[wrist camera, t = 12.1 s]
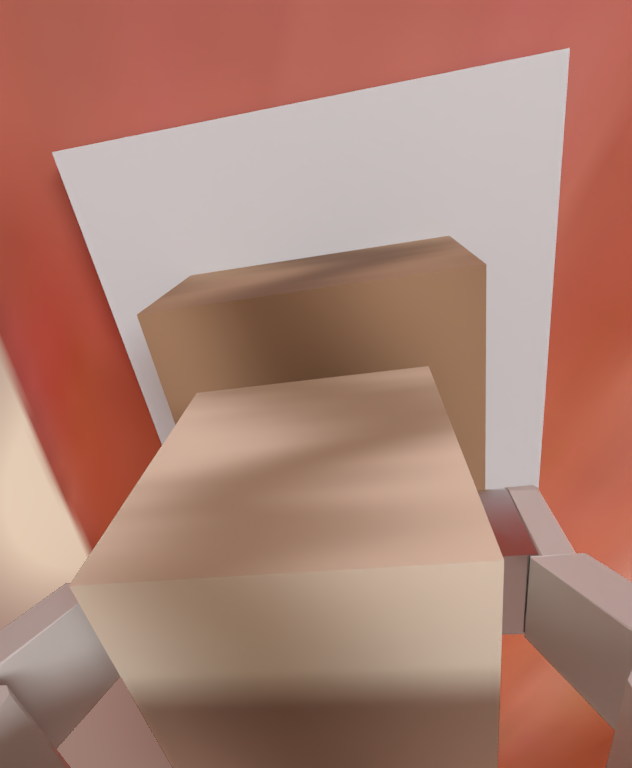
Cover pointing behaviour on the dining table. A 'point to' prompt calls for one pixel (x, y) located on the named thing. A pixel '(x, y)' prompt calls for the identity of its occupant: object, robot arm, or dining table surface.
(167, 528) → the ash cube
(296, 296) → the walnut base
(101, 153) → the white flat slab
